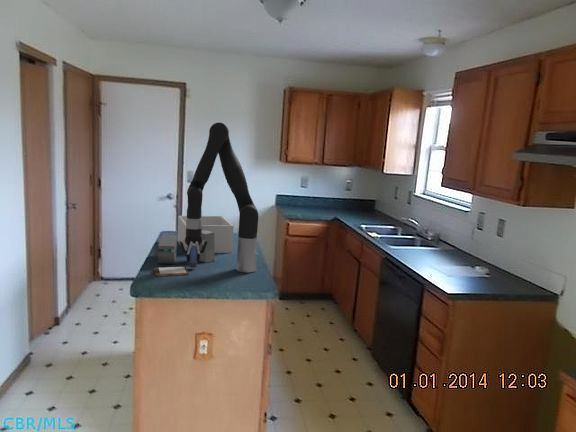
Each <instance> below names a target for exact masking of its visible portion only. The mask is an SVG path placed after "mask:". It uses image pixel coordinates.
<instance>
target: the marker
mask: <svg viewBox="0 0 576 432" xmlns="http://www.w3.org/2000/svg"><path fill="white" fill-rule="evenodd" d="M189 254H190V262H188V263H189V268H196V267H197V264H198V261H197V247H196V243H193V244H192V247H191V250H190V253H189Z"/></svg>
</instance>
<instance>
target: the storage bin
mask: <svg viewBox="0 0 576 432" xmlns="http://www.w3.org/2000/svg"><path fill="white" fill-rule="evenodd" d="M177 220H178V221H177V224H178V225H177V244H179V245H180V243H179V242H180V241H184V240H185V238H186V220H187V215H178V219H177ZM201 220H202V231H204V230H206V231H210V232H214V247H215V254H232V253H233V245H234V228H235V227H234V226H235V225H234V224H232V223H231V222H230V221H229V220H228V219H226V218H225V217H224V216H222V215H221V216H220V215H218V216H217V215H201ZM184 244H185V245H183V246H184V249H185V250H186V251H187V247H188V245H187V244H186V242H185V243H184ZM183 254H184V255H186V254H185V253H183Z"/></svg>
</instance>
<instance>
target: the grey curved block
mask: <svg viewBox="0 0 576 432" xmlns="http://www.w3.org/2000/svg"><path fill="white" fill-rule="evenodd" d="M177 249H178V234H174V235H173V234H162V236H161V237H160V240H159V242H158V244H157V262H158V264H160V265H161V264H163V265H164V264H165V265H166V264H167V265H168V264H170V265H174V264H176V263H175V262H176V259H177V251H178V250H177Z"/></svg>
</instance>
